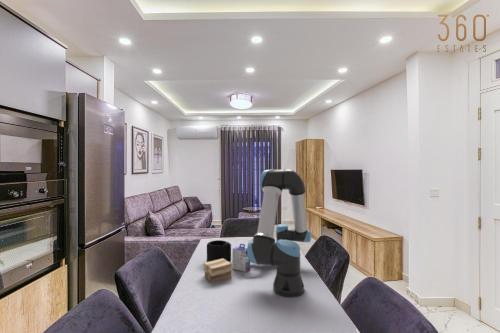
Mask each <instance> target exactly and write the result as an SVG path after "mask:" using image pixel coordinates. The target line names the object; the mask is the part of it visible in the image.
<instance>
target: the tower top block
mask: <svg viewBox="0 0 500 333" xmlns="http://www.w3.org/2000/svg"><path fill="white" fill-rule="evenodd" d="M203 271H204V272H205V271H206V272H207V273H208V274H210V275H211V276H215V275H219V274H222V273H226V272H230V271H231V272H232V271H233V269H232V262H231V261H230V262H228V261H227V260H225V259H223V258H222V259H218V260H214V261H210V262H207V261H206V262H203Z"/></svg>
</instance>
